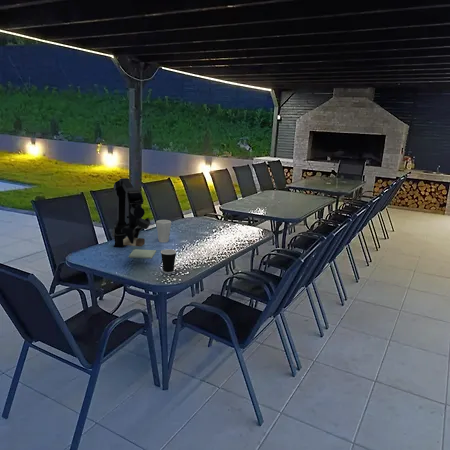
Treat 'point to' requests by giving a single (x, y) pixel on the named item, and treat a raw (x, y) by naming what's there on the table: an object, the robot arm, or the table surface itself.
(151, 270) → the table surface
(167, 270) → the dixie cup
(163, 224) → the foam cup
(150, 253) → the mat
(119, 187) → the robot arm
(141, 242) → the two-tone brown block
